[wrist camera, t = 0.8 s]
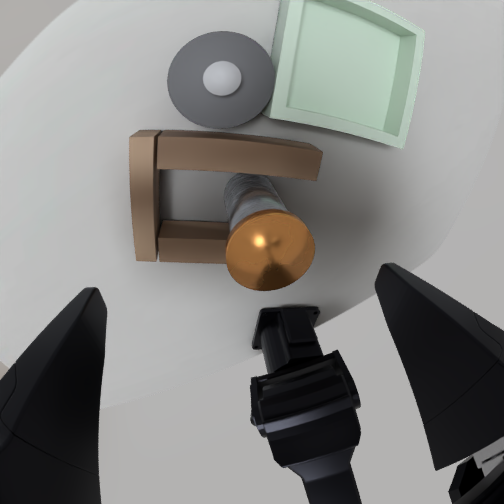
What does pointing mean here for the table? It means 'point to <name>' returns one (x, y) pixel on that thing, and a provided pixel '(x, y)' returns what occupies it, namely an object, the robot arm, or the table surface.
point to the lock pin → (264, 236)
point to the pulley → (221, 79)
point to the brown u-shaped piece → (207, 159)
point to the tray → (346, 68)
